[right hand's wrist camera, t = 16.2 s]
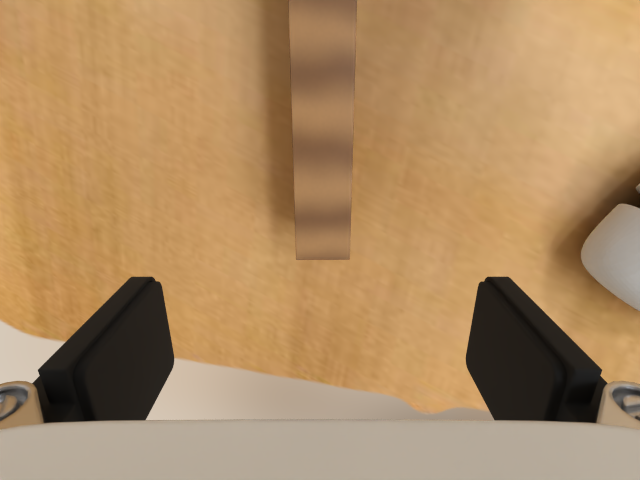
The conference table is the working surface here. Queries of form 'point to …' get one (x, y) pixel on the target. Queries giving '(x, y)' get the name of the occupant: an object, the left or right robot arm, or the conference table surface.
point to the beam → (322, 124)
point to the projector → (616, 253)
